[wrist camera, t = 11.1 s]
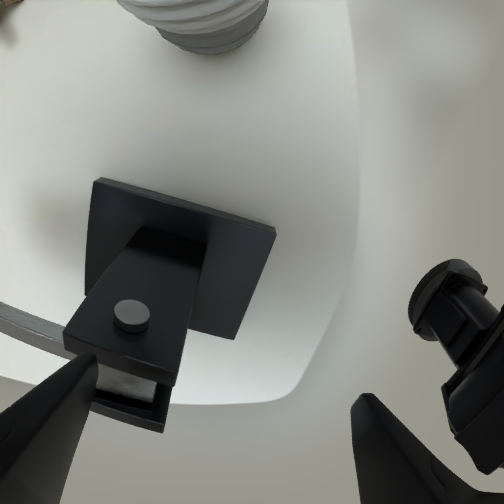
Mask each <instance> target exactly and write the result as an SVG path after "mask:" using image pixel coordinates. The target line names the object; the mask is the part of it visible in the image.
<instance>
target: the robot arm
mask: <svg viewBox="0 0 504 504" xmlns="http://www.w3.org/2000/svg"><path fill="white" fill-rule="evenodd" d="M487 290H488V287H487V286H486V285H485V284H483V283H481V282H479V281H477V280H474V279H472V278H470V277H468V276H466V275H463V274H461V273H459V272H457V271H454V270H450V271H449V272H448V273H447V274H446V276H445V278H444V279H443V281H442V283H441V285H440V286H439V288H438V290H437V291H436V293H435V295H434V296H433V298H432V299H431V301H430V303H429V304H428V306H427V307H426V309H425V310H424V312H423V313H422V315H421V316H420V318H419V319H418V321H417V322H416V324H415V325H414V327H413V331H414V332H415V334H418V335H424V336H429V337H434V338H437V340H438V341H439V342H440V344H441V345H442V347H443V348H444V350H445V351H446V353H447V354H448V356H449V358H450V359H451V360H452V362H453V364H454V365H455V367H456V368H457V371H456V372H455V373H454V375H453V376H452V377H451V378H450V379H449V380H448V381H447V382H446V383H444V384H443V386H442V387H441V390H442V395H443V399H444V403H445V408H446V411H447V417H448V422H449V426H450V430H451V432H452V433H453V434H454V435H455V436H454V438H455V440H456V441H458V442H459V443H460V444H461V445H462V446H463V447H464V448H465V449H466V451H467V452H468V453H469V455H470V456H471V458H472V460H473V462H474V464H475V466H476V468H477V470H479V471H480V472H482V473H484V474H486V475H489V474H491V473H492V472H494V471H495V470H496V469H497V468H503V469H504V304H503V306H502V308H501V311H500V312H499V311H498V310H497V309H496V308H495V307H494V306H493V305H492V304H491V303H490V302H489V301H488V300H487V299H486V298H485V297H484V295H485V294H486V292H487ZM98 376H99V368H98V363H97V357H96V355H95V354H93V353H90V352H87V351H84V352H82V353H80V354H79V355H78V356H76V357H75V358H74V359H72V360H71V361H70V362H68V363H67V364H65V365H64V366H63V367H61V368H60V369H59V370H57V371H56V372H55V373H53V374H52V375H51V376H49V377H48V378H47V379H45V380H44V381H43V382H41V383H40V384H39V385H37V386H36V387H35V388H33V389H32V390H31V391H29V392H28V393H27V394H25V395H24V396H23V397H21V398H20V399H19V400H18V401H16V402H15V403H14V404H12V405H11V407H8V408H7V409H6V410H4V411H3V412H1V413H0V504H59V503H60V499H61V496H62V492H63V489H64V485H65V482H66V479H67V475H68V472H69V469H70V466H71V463H72V460H73V457H74V453H75V451H76V448H77V445H78V442H79V439H80V436H81V434H82V431H83V428H84V425H85V423H86V420H87V417H88V414H89V410H90V406H91V402H92V398H93V394H94V391H95V387H96V383H97V380H98ZM351 428H352V444H353V453H354V459H355V466H356V472H357V479H358V486H359V494H360V502H361V504H504V493H492V492H482V491H478V490H476V489H474V488H472V487H471V486H469V485H468V484H467V483H465V482H464V481H463V480H462V479H461V478H459V477H458V476H457V475H455V474H454V473H453V472H452V471H451V470H449V469H448V468H447V467H446V466H445V465H444V464H443V463H442V462H441V461H440V460H438V459H437V458H436V457H435V456H434V455H433V454H432V453H431V452H430V451H429V450H428V449H427V448H426V447H425V446H424V445H423V444H422V443H421V442H420V441H419V440H418V439H417V438H416V437H415V436H414V435H413V434H412V433H411V432H410V431H409V430H408V429H407V428H406V427H405V425H403V423H401V421H400V420H398V418H396V416H395V415H393V413H392V412H391V411H390V410H389V409H388V408H387V407H386V406H385V405H384V404H383V403H382V402H381V401H380V400H379V399H378V398H377V397H376V396H375V395H374V394H372V393H362V394H361V395H360V396H359V398H358V399H357V400H356V401H355V403H354V404H353V405H352V407H351Z"/></svg>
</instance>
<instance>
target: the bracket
mask: <svg viewBox="0 0 504 504" xmlns="http://www.w3.org/2000/svg"><path fill="white" fill-rule="evenodd" d="M276 236H277V234H276V230H275V228H274V227H271V226H268V225H265V224H262V223H258V222H255V221H252V220H249V219H245V218H242V217H239V216H236V215H232V214H229V213H226V212H222V211H219V210H216V209H212V208H209V207H206V206H202V205H199V204H195V203H192V202H188V201H185V200H182V199H178V198H175V197H171V196H168V195H164V194H161V193H157V192H153V191H150V190H146V189H143V188H139V187H135V186H132V185H128V184H124V183H121V182H117V181H113V180H110V179H106V178H102V177H101V178H99V179H97V180H95V181H94V182H93V188H92V195H91V203H90V211H89V221H88V231H87V244H86V260H85V296H86V298H85V299H84V301H83V302H82V304H81V305H80V306H79V308H78V309H77V311H76V312H75V314H74V315H73V316H72V318H71V319H70V321H69V322H68V324H67V325H66V327H65V328H64V330H63V332H62V336H63V343H64V349H65V350H66V351H68V352H71V353H73V354H76V355H79V354H80V353H82V352H84V351H87V352H90V353H93V354H95V355H96V357H97V363H99V364H101V365H104V366H107V367H110V368H113V369H116V370H118V371H121V372H124V373H128V374H131V375H134V376H137V377H140V378H143V379H147V380H150V381H154V382H156V388H155V394H154V400H153V403H150V402H146V401H141V400H137V399H133V398H129V397H125V396H121V395H117V394H114V393H110V392H106V391H103V390H100V389H96V388H95V391H94V394H93V398H92V402H91V406H90V411H93V412H95V413H98V414H101V415H104V416H107V417H109V418H112V419H115V420H118V421H121V422H124V423H127V424H131V425H134V426H137V427H141V428H144V429H148V430H151V431H155V432H159V433H163V431H164V427H165V422H166V417H167V412H168V407H169V402H170V397H171V392H172V387H174V386H175V383H176V379H177V375H178V372H179V367H180V362H181V357H182V353H183V348H184V343H185V339H186V334H187V330H188V329H191V330H195V331H199V332H203V333H207V334H210V335H214V336H218V337H222V338H226V339H231V340H234V339H235V336H236V334H237V332H238V329H239V327H240V324H241V322H242V320H243V317H244V315H245V312H246V310H247V307H248V305H249V303H250V300H251V298H252V295H253V293H254V290H255V288H256V285H257V283H258V280H259V278H260V276H261V273H262V271H263V268H264V266H265V263H266V261H267V258H268V256H269V253H270V251H271V248H272V246H273V243H274V241H275V238H276Z"/></svg>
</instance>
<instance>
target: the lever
mask: <svg viewBox="0 0 504 504" xmlns="http://www.w3.org/2000/svg"><path fill="white" fill-rule="evenodd" d="M64 328H65V327H64V326H62V325H59V324H56V323H53V322H50V321H48V320H45V319H42V318H39V317H37V316H34V315H32V314H29V313H27V312H24V311H22V310H19V309H17V308H14V307H12V306H9V305H7V304H5V303H3V302H0V332H2V333H4V334H6V335H8V336H11V337H13V338H15V339H17V340H20V341H22V342H24V343H27V344H29V345H32V346H34V347H36V348H39V349H41V350H44V351H47V352H49V353H52V354H55V355H57V356H60V357H63V358H66V359H69V360H72V359H74V358H75V357H76V356H78V355H76V354H73V353H71V352H68V351H66V350H65V349H64V343H63V336H62V332H63V330H64ZM98 368H99V376H98V380H97V383H96V387H95V388H96V389H100V390H103V391H106V392H110V393H114V394H117V395H121V396H125V397H129V398H133V399H137V400H141V401H146V402H150V403H153V400H154V394H155V388H156V382H154V381H150V380H147V379H143V378H140V377H137V376H134V375H131V374H128V373H124V372H121V371H118V370H116V369H113V368H110V367H107V366H104V365H101V364H99V363H98Z"/></svg>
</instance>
